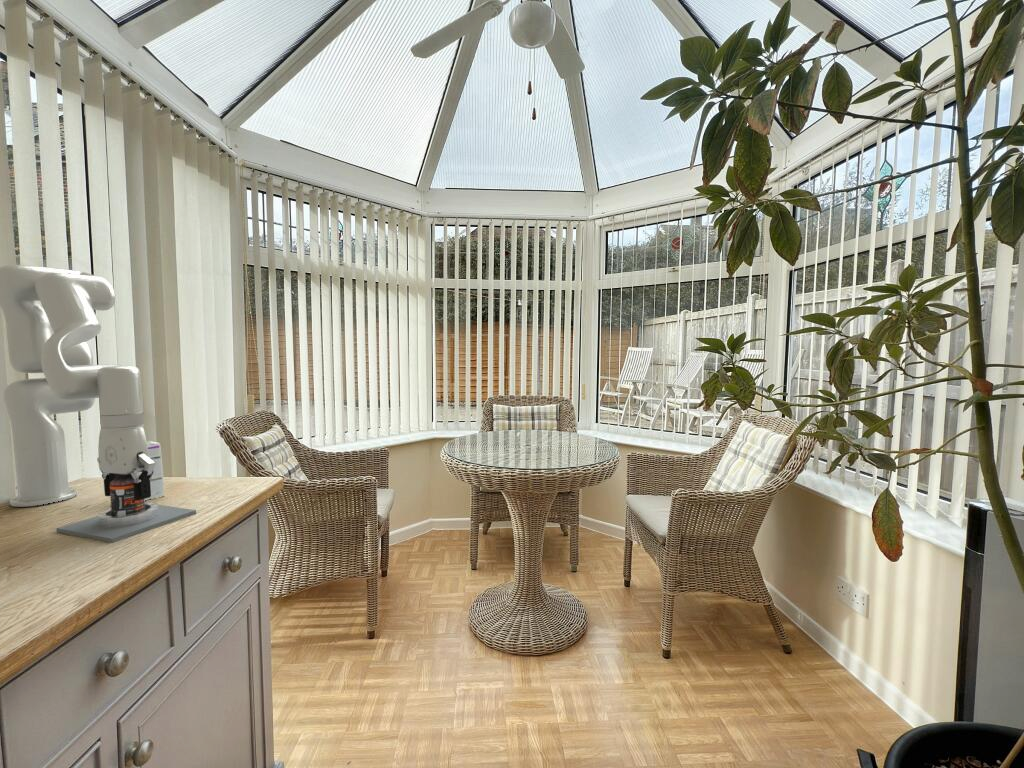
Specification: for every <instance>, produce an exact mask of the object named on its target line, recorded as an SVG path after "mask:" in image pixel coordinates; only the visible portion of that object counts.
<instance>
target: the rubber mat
mask: <svg viewBox="0 0 1024 768" xmlns="http://www.w3.org/2000/svg"><path fill="white" fill-rule="evenodd" d="M157 506H158V516H156V517H155V518H153V519H151V520H148V521H145V522H142V523H139V524H134V525H128V526H123V527H109V528H108V527H102V526H99V515H95V516H94V517H93V516H92V517H90V518H86V519H82V520H79V521H75V522H73V523H69V524H65V525H62V526H59V527H56V529H55V530H56V531H57V533H60V532H61V533H62V534H66V535H71V536H78V537H80V538H81V537H83V538H87V539H93V540H98V541H101V542H107V543H116V542H117V541H120V540H123V539H126V538H129V537H132V536H136V535H138V534H141V533H144V532H147V531H150V530H153V529H155V527H156V528H158V526H159V527H161V526H164V525H167V524H169V523H173V522H176V521H178V520H181V518H182V519H184V518H187V517H190V516H193V515H196V514H197V510H196V509H190V508H185V507H178V506H176V507H175V506H170V505H164V504H163V505H162V504H157ZM149 529H150V530H149Z"/></svg>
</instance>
